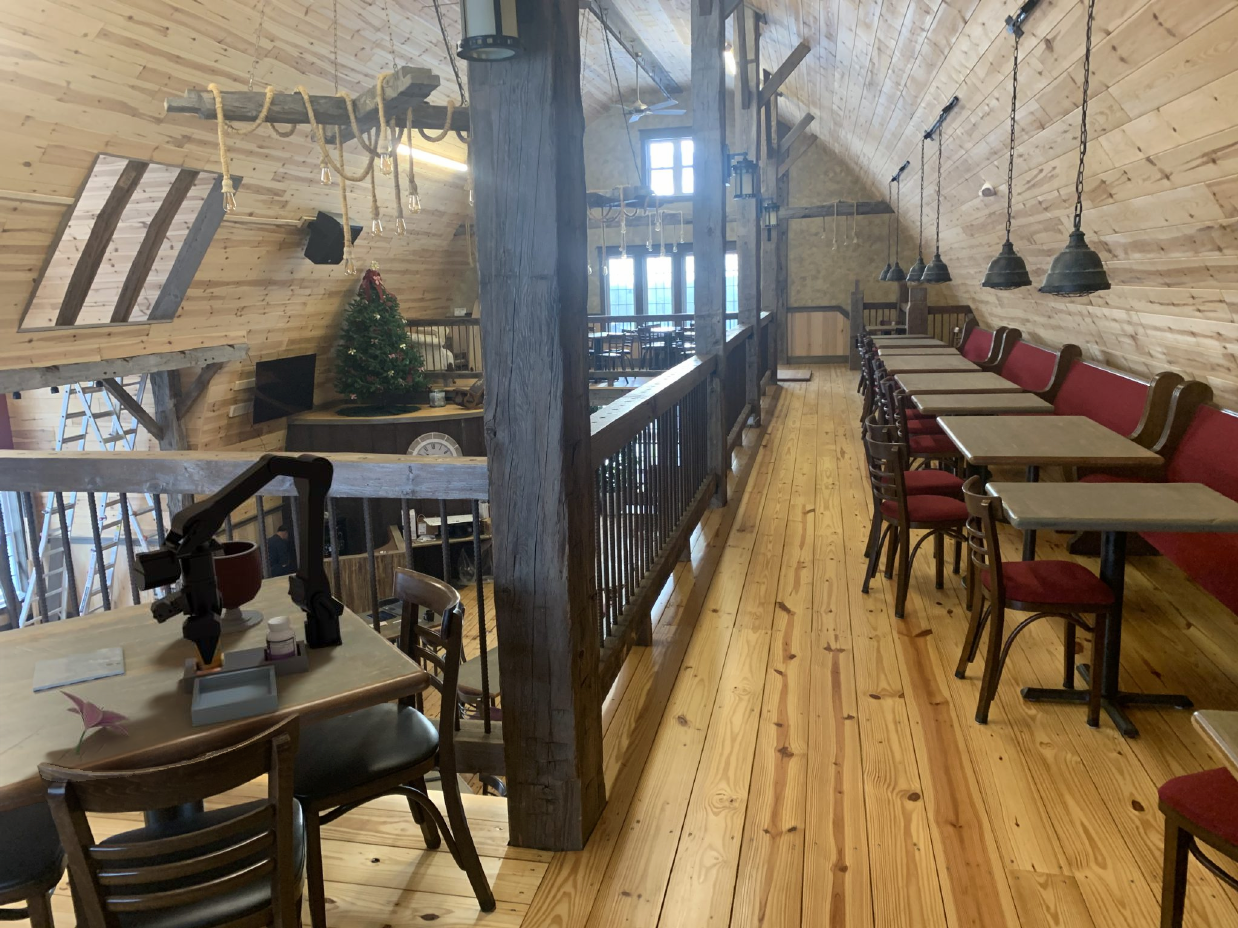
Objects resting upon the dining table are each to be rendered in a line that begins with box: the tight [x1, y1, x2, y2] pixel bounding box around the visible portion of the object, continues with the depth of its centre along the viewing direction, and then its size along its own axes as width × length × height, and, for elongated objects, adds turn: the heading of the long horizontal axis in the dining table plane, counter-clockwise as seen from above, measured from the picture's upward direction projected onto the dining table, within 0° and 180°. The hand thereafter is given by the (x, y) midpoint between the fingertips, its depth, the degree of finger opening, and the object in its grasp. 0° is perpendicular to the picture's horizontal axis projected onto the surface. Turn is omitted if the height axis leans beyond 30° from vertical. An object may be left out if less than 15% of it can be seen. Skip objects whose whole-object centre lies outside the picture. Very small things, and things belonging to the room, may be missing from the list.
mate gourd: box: [212, 535, 265, 634], centre depth 196 cm, size 16×14×20 cm
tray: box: [190, 665, 279, 728], centre depth 159 cm, size 14×14×3 cm
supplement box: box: [195, 637, 222, 671], centre depth 168 cm, size 3×3×10 cm
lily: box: [59, 690, 132, 755], centre depth 146 cm, size 12×12×10 cm
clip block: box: [182, 639, 309, 694], centre depth 171 cm, size 22×9×4 cm, turn 113°
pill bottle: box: [265, 615, 297, 661], centre depth 173 cm, size 5×5×10 cm
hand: (208, 655), depth 168 cm, fingers open, 9 cm apart
